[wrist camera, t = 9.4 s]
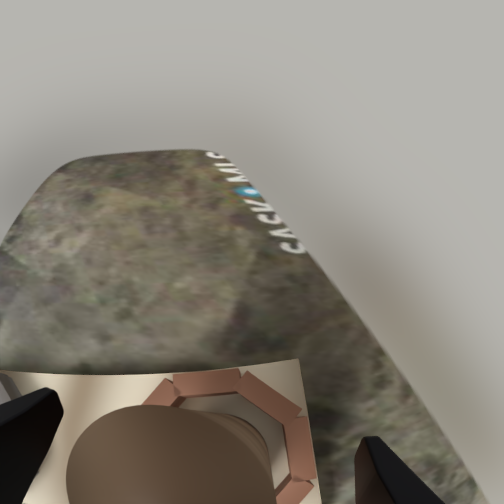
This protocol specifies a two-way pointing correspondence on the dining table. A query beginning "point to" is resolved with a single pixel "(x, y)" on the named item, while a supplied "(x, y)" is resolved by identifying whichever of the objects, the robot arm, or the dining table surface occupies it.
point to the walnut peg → (169, 459)
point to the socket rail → (188, 397)
